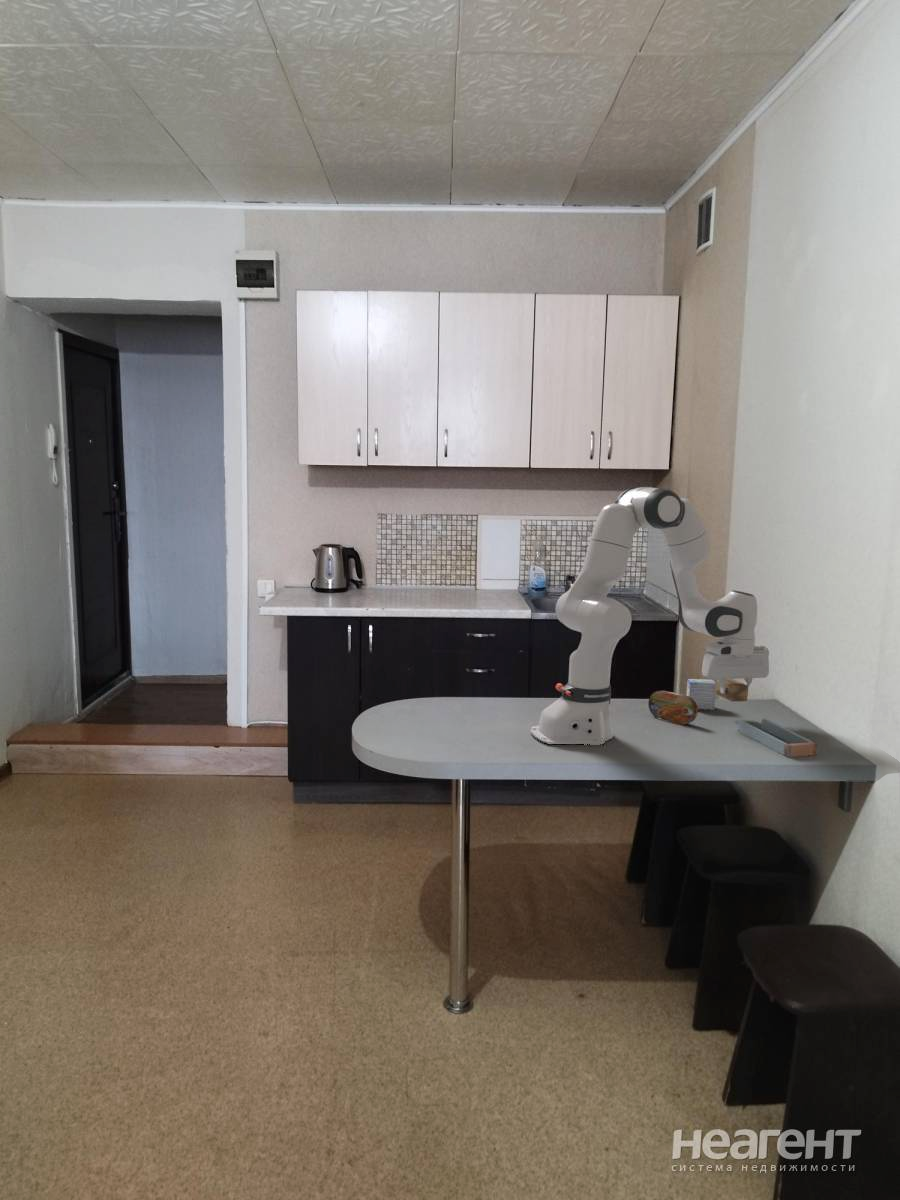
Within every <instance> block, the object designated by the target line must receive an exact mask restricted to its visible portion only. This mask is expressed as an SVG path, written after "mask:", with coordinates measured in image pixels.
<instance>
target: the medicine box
mask: <svg viewBox="0 0 900 1200" xmlns="http://www.w3.org/2000/svg"><path fill="white" fill-rule="evenodd" d="M686 682H687V683H686V684H687V685H686V694H685V695H686V696H689V697H691V698H692V699H693V700H694V701H695V702H696V704H697V707H698V710H700V709H702V710H703V709H704V710H706V711H715V705H716V704H715V703H716V693H717V683H716V682H715V680H714V679H707V678H706V679H705V678H704V679H703V678H688V679H687V681H686ZM708 709H709V710H708ZM704 710H703V711H704Z"/></svg>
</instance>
